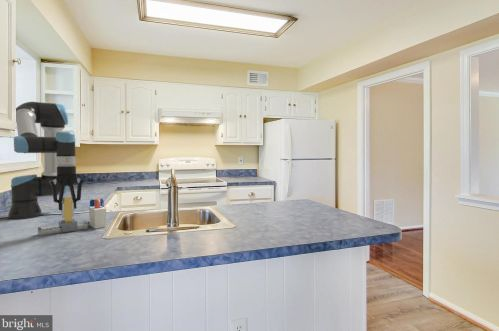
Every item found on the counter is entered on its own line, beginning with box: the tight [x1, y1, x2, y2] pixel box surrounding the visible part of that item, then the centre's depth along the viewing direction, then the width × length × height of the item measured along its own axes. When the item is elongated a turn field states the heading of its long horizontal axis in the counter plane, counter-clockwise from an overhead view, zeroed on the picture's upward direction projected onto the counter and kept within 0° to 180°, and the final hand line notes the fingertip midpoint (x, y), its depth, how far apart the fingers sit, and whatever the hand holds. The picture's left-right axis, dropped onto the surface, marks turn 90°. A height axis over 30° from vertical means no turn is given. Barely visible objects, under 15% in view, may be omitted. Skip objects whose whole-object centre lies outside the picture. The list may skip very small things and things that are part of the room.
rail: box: [37, 220, 88, 237], centre depth 136 cm, size 3×19×3 cm, turn 132°
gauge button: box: [94, 199, 100, 209], centre depth 145 cm, size 3×3×8 cm
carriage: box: [58, 196, 78, 233], centre depth 137 cm, size 8×6×15 cm
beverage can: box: [89, 197, 105, 208], centre depth 155 cm, size 6×6×12 cm
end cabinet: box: [88, 206, 107, 229], centre depth 145 cm, size 10×5×9 cm, turn 42°
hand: (67, 216), depth 137 cm, fingers closed on carriage, 3 cm apart
